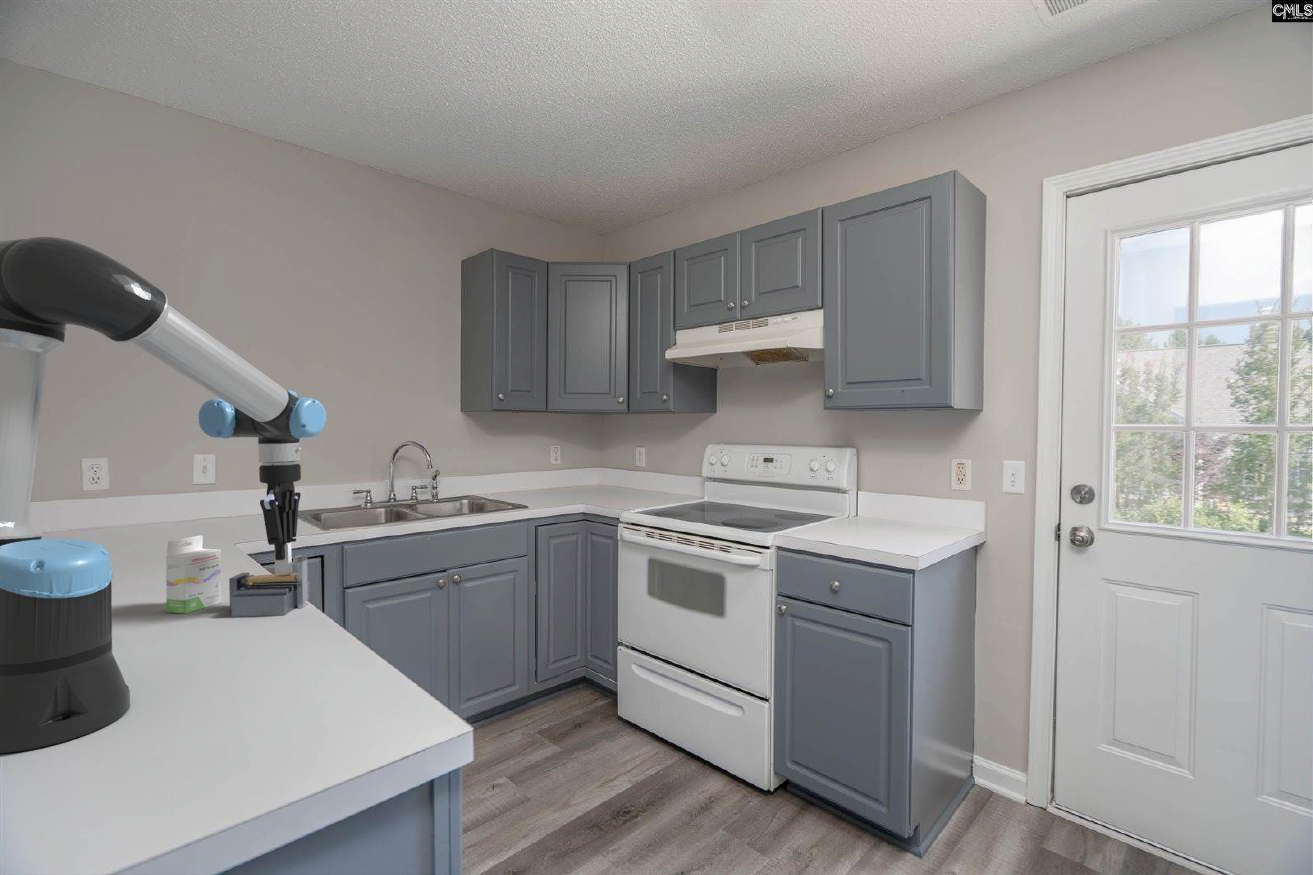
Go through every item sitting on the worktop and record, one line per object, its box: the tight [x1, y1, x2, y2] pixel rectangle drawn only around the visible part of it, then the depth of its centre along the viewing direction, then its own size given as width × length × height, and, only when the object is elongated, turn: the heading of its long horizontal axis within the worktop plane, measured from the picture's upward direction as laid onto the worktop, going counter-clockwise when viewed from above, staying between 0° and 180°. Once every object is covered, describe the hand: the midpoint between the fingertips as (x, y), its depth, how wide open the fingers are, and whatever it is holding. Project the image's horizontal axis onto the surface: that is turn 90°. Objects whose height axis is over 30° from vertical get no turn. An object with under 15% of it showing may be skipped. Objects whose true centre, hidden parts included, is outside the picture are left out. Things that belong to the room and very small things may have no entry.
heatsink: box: [228, 554, 311, 618], centre depth 132 cm, size 12×14×11 cm
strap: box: [239, 572, 297, 585], centre depth 132 cm, size 4×11×1 cm, turn 97°
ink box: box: [165, 535, 222, 614], centre depth 132 cm, size 9×5×15 cm, turn 168°
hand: (283, 573), depth 132 cm, fingers closed
